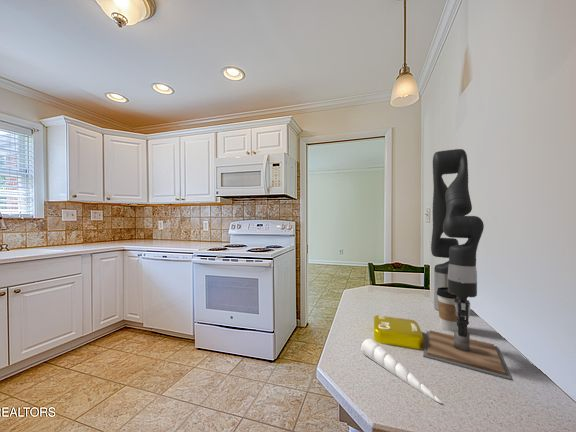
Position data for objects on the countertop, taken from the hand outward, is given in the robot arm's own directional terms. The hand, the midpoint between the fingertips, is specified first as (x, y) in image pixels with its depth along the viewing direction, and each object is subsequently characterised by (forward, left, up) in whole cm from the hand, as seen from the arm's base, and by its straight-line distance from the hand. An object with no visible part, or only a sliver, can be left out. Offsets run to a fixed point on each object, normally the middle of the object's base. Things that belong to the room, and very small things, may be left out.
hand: (461, 331), depth 78 cm
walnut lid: (0, 0, -6) cm, 6 cm away
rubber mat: (0, 0, -7) cm, 7 cm away
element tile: (0, -19, -7) cm, 20 cm away
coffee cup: (-19, -3, -7) cm, 21 cm away
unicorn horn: (+23, -16, -7) cm, 28 cm away
